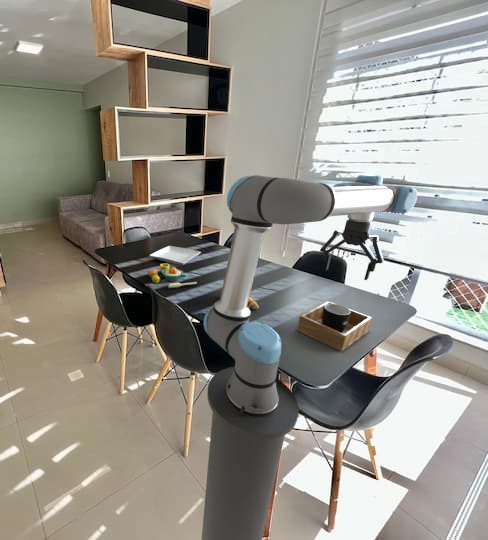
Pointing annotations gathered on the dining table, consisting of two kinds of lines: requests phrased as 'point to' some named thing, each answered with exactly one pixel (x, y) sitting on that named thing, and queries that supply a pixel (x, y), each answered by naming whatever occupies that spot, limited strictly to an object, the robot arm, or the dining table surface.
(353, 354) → the dining table surface
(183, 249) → the square plate
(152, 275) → the toy juicer set
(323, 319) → the mug
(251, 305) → the croissant
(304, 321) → the crate
